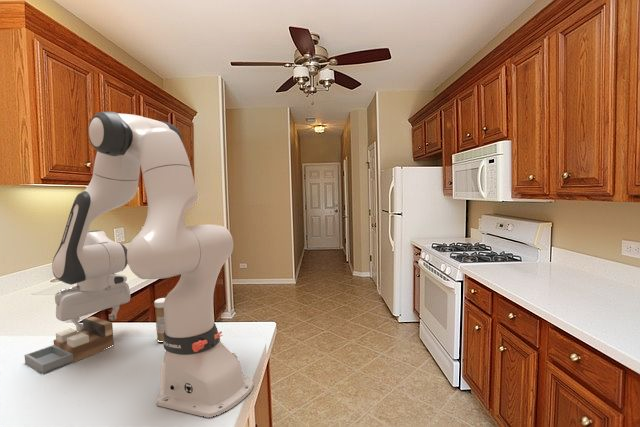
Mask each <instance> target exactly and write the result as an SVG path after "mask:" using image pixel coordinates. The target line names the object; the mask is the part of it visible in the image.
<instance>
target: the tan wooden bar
mask: <svg viewBox="0 0 640 427" xmlns="http://www.w3.org/2000/svg"><path fill="white" fill-rule="evenodd" d="M82 324H84V331H87V332H90V333H92V334H95V335H97V336H100V337H106V336H108V335H111V334H113V335H114V328H113V322H111V321H108V320H105V319H102V318H99V317H96V316H90V317H89V316H88V317H86V318H82Z"/></svg>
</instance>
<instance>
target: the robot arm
mask: <svg viewBox="0 0 640 427" xmlns="http://www.w3.org/2000/svg"><path fill="white" fill-rule="evenodd" d="M87 131H88V139H89V143H90V144H91V146H92V147H93V149H94V150H96V155H95V158H94V164H93V171H92V175H91V176H92V177H91V180H90V182H89V184H88V185H87V186H86V188H85V189H84V190H83V191H81V192H80V193H77V195H76V197H75V198H74V201H73V204H72V205H71V207H70V208H71V209H70V211H69V214H68V218H67V221H66V225H65V228H64V231H63V234H62V238H61V242H60V244H59V247H58V248H57V251H55V252H56V253H55V255H54V257H53V260H52V266H51V268H52V273H53V276H54V278H55V279H57V280H58V281H60V282H61V283H64V284H66V285H70V286H71V287H69V288H63V289H60V291H58V292H56V294H55V296H54V301H55V303H54V304H56V305H55V317H56V319H57V320H58V321H60V322H68V321H71V322H72V323H73V324H74V325H75V330H76V331H77V332H79V331H82V330H84V324H83V323H80V322H79V321H80V318H81V317H84V316H88V315H91V314H94V313H97V312H102V311H104V310H107V309H112V311H111V313H110V314H108V320H109V321H110V322H111V321H115V320H117V314H118V312H119V310H120V305H124V304H127V303H129V302H130V300H131V289H130V286H129V284H128V283H127V281H128V277H127V276H126V275H123V274H120V272H123V271H124V270H125V269H126V268H127V266H129V267H128V268H129V269H130V271H131V272H132V273H133V274H134V275H135V276H136V277H138V278H139V279H142V280H158V279H160V280H161V279H167V278H172V277H175V276H179V275H180V278H179V280H178V281H177V283H176V285H175V286H174V287H173V289H171V290H170V291H169V292H168V294H166V296H165V297H164V298H165V301H164V319H165V331H164V337H163V343H162V344H163V348H164V350H165V352H164V358H163V360H162V364H161V370H160V393H159V395H158V396H157V398H156V405H157V406H159V407H162V408H167V409H171V410H174V411H179V412H183V413H186V414H191V415H195V416H200V417H203V416H204V417H205V418H209V417H210V418H213V416H214V417H216V415H217V416H220V415H222V414H223V412H224V413H226V412H227V411H229V410H230V409H232V408H233V407H235V406H236V405H239V403H241V402H242V400H244V399H245V398H247V396H248V395H249V394H250V393H251V392H252V390H253V388H254V381H253V379H250V378H249V377H247V376H246V375H245V374H244V373H243V368H242V365H241V362H240V361H239V360H238V356H237V354H236V353H235V352H231V351H230V350H229V349H228V347H226V346H225V344H224V343H223V342H222V341H221V337H222V336H223V331H219V330H218V328H217V325H216V323H215V321H214V320H215V319H214V318H215V317H214V294H215V288H216V284H217V280H218V277H219V274H220V272H221V271H222V267H223V266H224V264H225V263H226V261H227V260H228V259H229V258H230V257H231V256H232V253H233V250H234V239H233V236H232V234H231V232H230V231H229V229H228V228H227V227H225V226H223V225H219V224H210V223H209V224H208V223H204V224H203V223H202V224H196V225H195V224H194V225H187V226H186V224H185V215H186V212H187V211H189V210H190V209H191V208H192V207H193V206H194V205H195V204H196V202H197V200H198V192H197V187H196V183H195V178H194V175H193V170H192V167H191V166H192V165H191V163H190V159H189V157H188V153H187V150H186V148H185V144H184V143H183V137H182V134H181V131H180V130H179V128H178V127H177V126H176V125H173V124H172V123H169V122H167V121H164V120H161V121H159V120H156V119H152V118H149V117H145V116H142V115H137V114H132V113H131V114H129V113H120V112H119V113H117V112H116V111H100V112H97V113H95V114H94V116H93V117H91V118H90V121H89V124H88V130H87ZM140 174H141V176H142V179H143V183H144V189H145V195H146V200H147V201H146V202H147V214H146V219H145V222H144V224H143V226H142V228H141V229H140V230H139V232H138V234H137V235H136V236H135V237H133V239H132V240H131V241H130V243H129V245H128V247H126V246H125V245H124V244H122V243H121V242H118V241H117V242H116V241H114V240H112V239H110V238H109V237H108V236H107V234H106V232H105V231H104V230H96V229H95V230H90V226H91V224H92V223H93V222H94V221H95V220H96V219H97V218H98V217H100V216H102V215H104V214H106V213H107V212H110V211H112V210H115V209H118V208H121V207H123V206H126V205H127V204H128V203H129V202H131V201H132V200H133V199H134V198H135V197H136V195H137V192H138V189H139V182H140V181H139V180H140ZM117 273H119V274H117ZM73 285H76V286H73ZM225 411H226V412H225ZM221 413H222V414H221ZM204 417H203V418H204ZM210 418H209V419H210Z"/></svg>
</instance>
